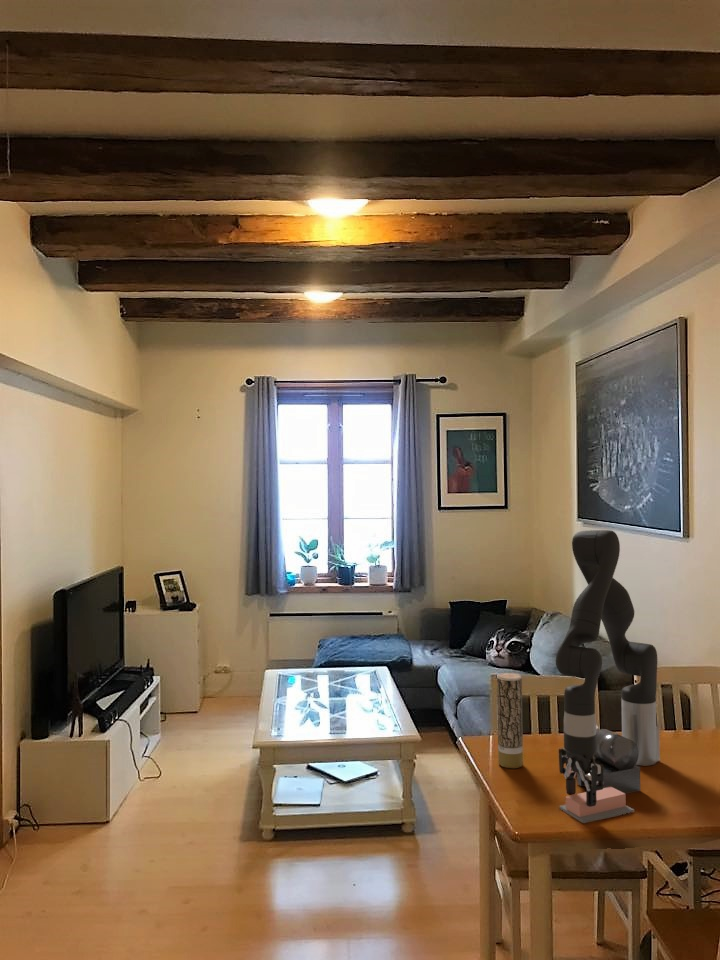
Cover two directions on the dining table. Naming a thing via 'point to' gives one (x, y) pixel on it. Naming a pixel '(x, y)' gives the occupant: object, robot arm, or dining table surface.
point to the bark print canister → (510, 720)
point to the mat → (599, 814)
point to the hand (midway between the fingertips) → (580, 799)
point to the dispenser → (616, 762)
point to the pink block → (605, 801)
